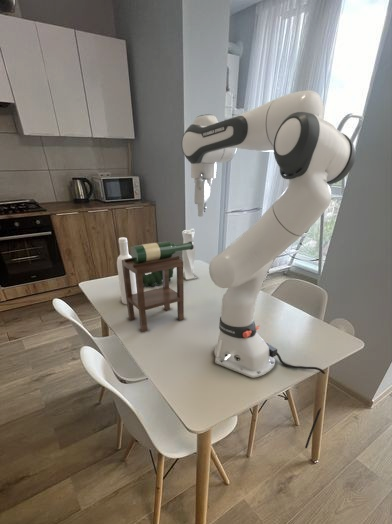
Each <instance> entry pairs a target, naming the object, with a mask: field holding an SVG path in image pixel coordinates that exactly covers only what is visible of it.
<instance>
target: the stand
mask: <svg viewBox="0 0 392 524" xmlns="http://www.w3.org/2000/svg"><path fill="white" fill-rule="evenodd" d="M122 267H123V275H124V284H125V292H126V300H127V304H126V307H127V316H128V319H129V320H130V321H133V320H135V309H134V308H136V309H137V310H138V316H139V325H140V326H139V327H140V331H141V332H142V333H143V332H147V331H148V325H147V323H148V322H147V311H148V310H151V309H155V308H159V307H163V309H164V310H165V311H169V310H171V304H174V303H176V305H177V308H176V309H177V319H178V321H183V320H184V319H185V311H184V310H185V308H184V307H185V305H184V304H185V303H184V302H185V301H184V300H185V299H184V298H185V295H184V294H185V293H184V289H185V288H184V287H185V286H184V278H183V274H184V266H183V259H180V256H179V255H177V256H175V255H172V257H170V258H165V259H159V260H155V261H149V262H143V263H137V264H135V263H134V262H133V260H132V258H128V259H124V260H122ZM170 268H174V269H175V268H176V291H175V290H173V288H171V287H170V282H169V269H170ZM129 270H131V271H132V272H134V273H135V277H136V287H137V293H136V294H132V290H131V281H130V272H129ZM161 270H162V271H163V280H162V287H157V288H153V289H149V290H145V289H144V285H143V276H142V274H145V275H147V274H151V273H152V272H156V271H161ZM144 290H145V291H144Z"/></svg>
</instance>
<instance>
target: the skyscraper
mask: <svg viewBox="0 0 392 524" xmlns="http://www.w3.org/2000/svg"><path fill="white" fill-rule="evenodd" d="M192 230H193V231H192ZM181 234H182V235H181V236H182V239H183V240H182V241H183V242H182V243H188V242H192V243H193V245H194V247H193V249H192V250H184V251H181V257H182V261H183V280H185V281H190V280H191V281H192V280H197V279H198V277H197V276H196V275H194V265H195V259H196V247H195V242H194V238H195V234H196V231H195V228H190V229H187V230H186V229H184V230H183V231H182V232H181Z"/></svg>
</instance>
